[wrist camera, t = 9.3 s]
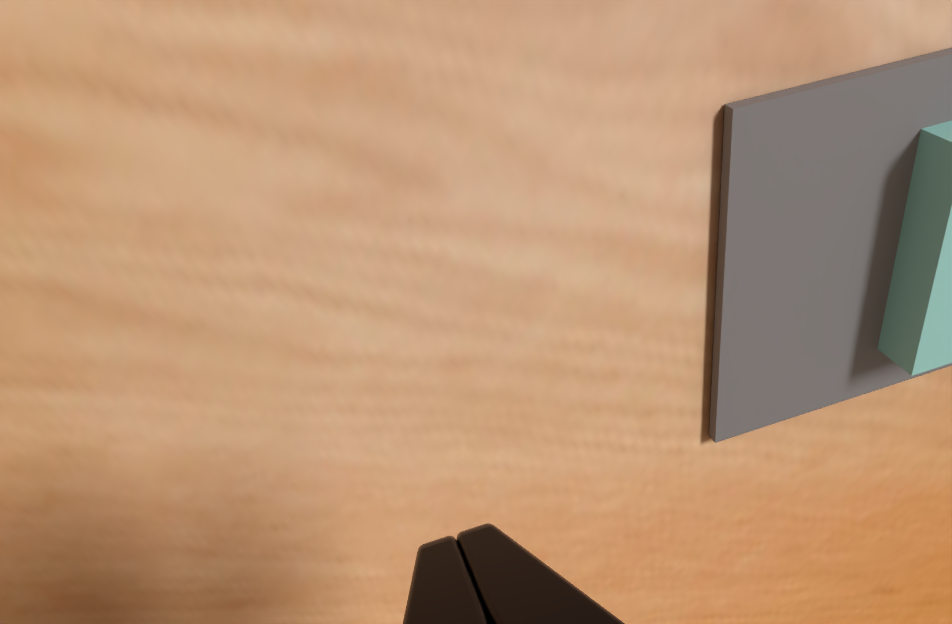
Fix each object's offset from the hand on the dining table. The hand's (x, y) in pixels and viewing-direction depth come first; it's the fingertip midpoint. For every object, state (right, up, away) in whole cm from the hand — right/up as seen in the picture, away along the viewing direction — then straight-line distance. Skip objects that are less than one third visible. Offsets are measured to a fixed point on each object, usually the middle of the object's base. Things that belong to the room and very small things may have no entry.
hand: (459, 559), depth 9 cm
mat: (+16, +6, +17) cm, 24 cm away
